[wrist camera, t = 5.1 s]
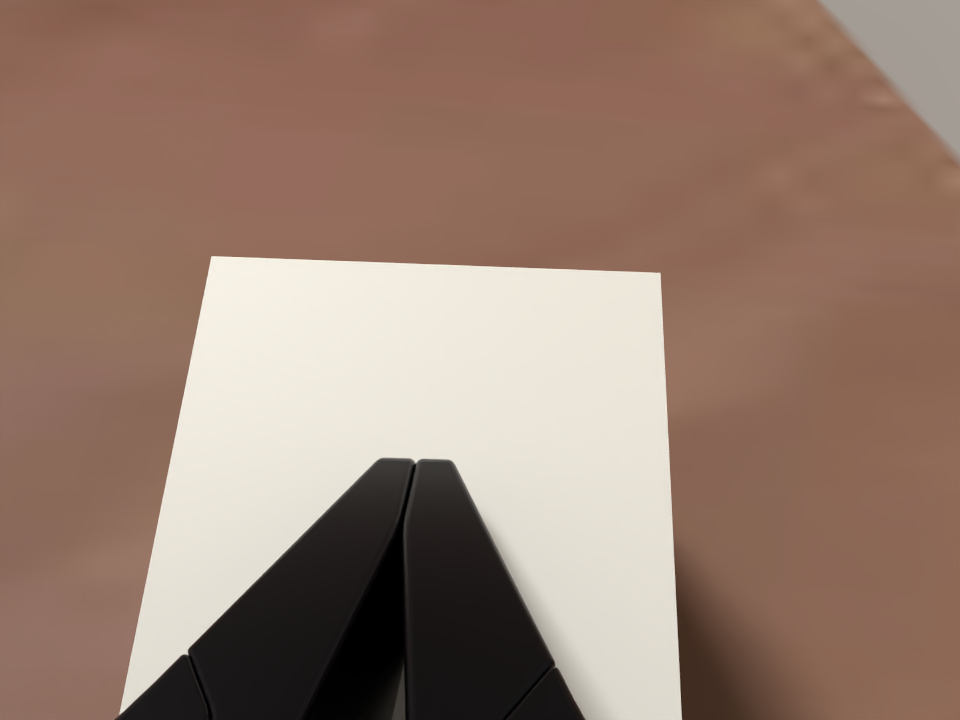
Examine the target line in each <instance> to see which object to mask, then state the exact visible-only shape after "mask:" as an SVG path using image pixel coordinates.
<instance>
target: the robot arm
mask: <svg viewBox="0 0 960 720" xmlns="http://www.w3.org/2000/svg"><path fill="white" fill-rule="evenodd" d="M403 665H404V682H405V720H586V719H585V717H584V716H583V714H582V712H581V710H580V708H579V707H578V705H577V703H576V701H575V699H574V697H573V695H572V693H571V692H570V690H569V688H568V686H567V684H566V682H565V680H564V678H563V676H562V674H561V672H560V670H559V669H558V668H557V667H555V661H554V659H553V657H552V655H551V653H550V651H549V649H548V647H547V645H546V643H545V641H544V639H543V637H542V635H541V633H540V631H539V629H538V627H537V625H536V623H535V621H534V619H533V617H532V615H531V613H530V611H529V609H528V607H527V606H526V604H525V602H524V600H523V598H522V596H521V594H520V592H519V590H518V588H517V586H516V584H515V582H514V580H513V578H512V576H511V574H510V572H509V570H508V568H507V566H506V564H505V562H504V560H503V558H502V556H501V554H500V552H499V550H498V548H497V546H496V544H495V542H494V540H493V538H492V536H491V534H490V532H489V531H488V529H487V527H486V525H485V523H484V521H483V519H482V517H481V515H480V513H479V511H478V509H477V507H476V505H475V503H474V501H473V499H472V497H471V495H470V493H469V491H468V489H467V487H466V485H465V483H464V481H463V479H462V477H461V475H460V473H459V471H458V469H457V467H456V465H455V464H454V462H453V461H451V460H448V459H420V460H418V461H417V463H415V461H414V460H413V459H410V458H386V457H385V458H380V459H378V460H377V461H375V462H374V463H373V464H372V465H371V466H370V467H369V468H368V469H367V470H366V471H365V472H364V473H363V474H362V475H361V476H360V477H359V478H358V479H357V480H356V481H355V482H354V483H353V484H352V485H351V486H350V487H349V488H348V489H347V490H346V491H345V492H344V493H343V494H342V495H341V496H340V497H339V498H338V499H337V500H336V501H335V502H334V503H333V504H332V505H331V506H330V507H329V508H328V509H327V510H326V511H325V512H324V513H323V514H322V515H321V516H320V517H319V518H318V519H317V520H316V521H315V522H314V523H313V524H312V525H311V526H310V527H309V528H308V529H307V530H306V531H305V532H304V533H303V534H302V535H301V536H300V537H299V538H298V539H297V540H296V541H295V542H294V543H293V544H292V545H291V546H290V547H289V548H288V549H287V550H286V551H285V552H284V553H283V554H282V555H281V556H280V557H279V558H278V559H277V560H276V561H275V562H274V563H273V564H272V565H271V566H270V567H269V568H268V569H267V570H266V571H265V572H264V573H263V574H262V575H261V576H260V577H259V578H258V579H257V580H256V581H255V582H254V583H253V584H252V585H251V586H250V587H249V588H248V589H247V590H246V591H245V592H244V593H243V594H242V595H241V596H240V597H239V598H238V599H237V600H236V601H235V602H234V603H233V604H232V605H231V606H230V607H229V608H228V609H227V610H226V611H225V612H224V613H223V614H222V615H221V616H220V617H219V618H218V619H217V620H216V621H215V622H214V623H213V624H212V625H211V626H210V627H209V628H208V629H207V630H206V631H205V632H204V633H203V634H202V635H201V636H200V637H199V638H198V639H197V640H196V641H195V642H194V643H193V644H192V645H191V646H190V647H189V649H188V655H187V654H183V655H181V656H180V657H179V658H178V659H177V660H176V661H175V662H174V663H173V664H172V665H171V666H170V667H169V668H168V669H167V670H166V671H165V672H164V673H163V674H162V675H161V676H160V677H159V678H158V679H157V680H156V681H155V682H154V683H153V684H152V685H151V686H150V687H149V688H148V689H147V690H146V691H144V692H143V693H142V694H141V695H140V696H139V697H138V698H137V699H136V700H135V701H134V702H133V703H132V704H131V705H130V706H129V707H128V708H127V709H126V710H124V711H123V712H122V713H121V714H120V715H119V716H118V717H117V718H116V719H115V720H392V716H393V712H394V707H395V703H396V698H397V694H398V689H399V685H400V680H401V676H402V670H403Z"/></svg>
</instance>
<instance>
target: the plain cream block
mask: <svg viewBox="0 0 960 720" xmlns="http://www.w3.org/2000/svg"><path fill="white" fill-rule="evenodd" d="M385 457H386V458H410V459H413V460H414V461H415V463H417V461H418V460H420V459H448V460H451V461H453V462H454V464H455V465H456V467H457V469H458V471H459V473H460V475H461V477H462V479H463V481H464V483H465V485H466V487H467V489H468V491H469V493H470V495H471V497H472V499H473V501H474V503H475V505H476V507H477V509H478V511H479V513H480V515H481V517H482V519H483V521H484V523H485V525H486V527H487V529H488V531H489V532H490V534H491V536H492V538H493V540H494V542H495V544H496V546H497V548H498V550H499V552H500V554H501V556H502V558H503V560H504V562H505V564H506V566H507V568H508V570H509V572H510V574H511V576H512V578H513V580H514V582H515V584H516V586H517V588H518V590H519V592H520V594H521V596H522V598H523V600H524V602H525V604H526V606H527V607H528V609H529V611H530V613H531V615H532V617H533V619H534V621H535V623H536V625H537V627H538V629H539V631H540V633H541V635H542V637H543V639H544V641H545V643H546V645H547V647H548V649H549V651H550V653H551V655H552V657H553V659H554V661H555V667H557V668H558V669H559V670H560V672H561V674H562V676H563V678H564V680H565V682H566V684H567V686H568V688H569V690H570V692H571V693H572V695H573V697H574V699H575V701H576V703H577V705H578V707H579V708H580V710H581V712H582V714H583V716H584V717H585V719H586V720H682V712H681V691H680V671H679V650H678V629H677V609H676V588H675V567H674V547H673V526H672V505H671V485H670V464H669V443H668V423H667V402H666V381H665V361H664V340H663V320H662V299H661V278H660V273H646V272H619V271H592V270H565V269H539V268H512V267H485V266H458V265H431V264H404V263H378V262H351V261H324V260H297V259H270V258H243V257H216V256H212V257H211V262H210V267H209V272H208V277H207V282H206V287H205V292H204V297H203V302H202V307H201V312H200V317H199V322H198V327H197V332H196V337H195V342H194V347H193V352H192V357H191V362H190V367H189V372H188V377H187V381H186V386H185V391H184V396H183V401H182V406H181V411H180V416H179V421H178V426H177V431H176V436H175V441H174V446H173V451H172V456H171V461H170V466H169V471H168V476H167V481H166V486H165V491H164V496H163V501H162V506H161V511H160V516H159V521H158V525H157V530H156V535H155V540H154V545H153V550H152V555H151V560H150V565H149V570H148V575H147V580H146V585H145V590H144V595H143V600H142V605H141V610H140V615H139V620H138V625H137V630H136V635H135V640H134V645H133V650H132V655H131V660H130V664H129V669H128V674H127V679H126V684H125V689H124V694H123V699H122V704H121V709H120V714H121V713H122V712H123V711H124V710H126V709H127V708H128V707H129V706H130V705H131V704H132V703H133V702H134V701H135V700H136V699H137V698H138V697H139V696H140V695H141V694H142V693H143V692H144V691H146V690H147V689H148V688H149V687H150V686H151V685H152V684H153V683H154V682H155V681H156V680H157V679H158V678H159V677H160V676H161V675H162V674H163V673H164V672H165V671H166V670H167V669H168V668H169V667H170V666H171V665H172V664H173V663H174V662H175V661H176V660H177V659H178V658H179V657H180V656H181V655H183V654H187V655H188V649H189V647H190V646H191V645H192V644H193V643H194V642H195V641H196V640H197V639H198V638H199V637H200V636H201V635H202V634H203V633H204V632H205V631H206V630H207V629H208V628H209V627H210V626H211V625H212V624H213V623H214V622H215V621H216V620H217V619H218V618H219V617H220V616H221V615H222V614H223V613H224V612H225V611H226V610H227V609H228V608H229V607H230V606H231V605H232V604H233V603H234V602H235V601H236V600H237V599H238V598H239V597H240V596H241V595H242V594H243V593H244V592H245V591H246V590H247V589H248V588H249V587H250V586H251V585H252V584H253V583H254V582H255V581H256V580H257V579H258V578H259V577H260V576H261V575H262V574H263V573H264V572H265V571H266V570H267V569H268V568H269V567H270V566H271V565H272V564H273V563H274V562H275V561H276V560H277V559H278V558H279V557H280V556H281V555H282V554H283V553H284V552H285V551H286V550H287V549H288V548H289V547H290V546H291V545H292V544H293V543H294V542H295V541H296V540H297V539H298V538H299V537H300V536H301V535H302V534H303V533H304V532H305V531H306V530H307V529H308V528H309V527H310V526H311V525H312V524H313V523H314V522H315V521H316V520H317V519H318V518H319V517H320V516H321V515H322V514H323V513H324V512H325V511H326V510H327V509H328V508H329V507H330V506H331V505H332V504H333V503H334V502H335V501H336V500H337V499H338V498H339V497H340V496H341V495H342V494H343V493H344V492H345V491H346V490H347V489H348V488H349V487H350V486H351V485H352V484H353V483H354V482H355V481H356V480H357V479H358V478H359V477H360V476H361V475H362V474H363V473H364V472H365V471H366V470H367V469H368V468H369V467H370V466H371V465H372V464H373V463H374V462H375V461H377V460H378V459H380V458H385ZM120 714H119V715H120ZM392 720H405V682H404V665H403V670H402V676H401V680H400V685H399V689H398V694H397V698H396V703H395V707H394V712H393V716H392Z"/></svg>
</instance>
